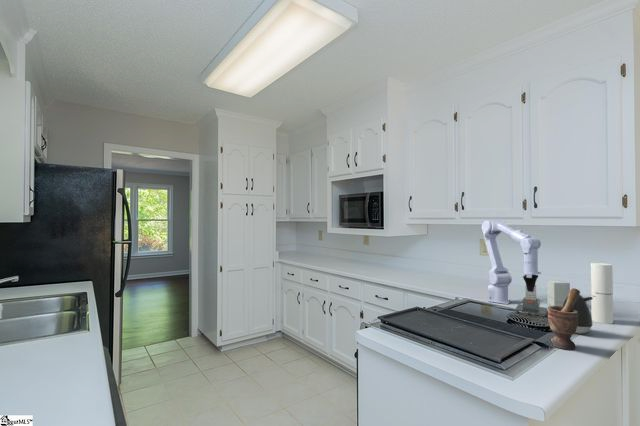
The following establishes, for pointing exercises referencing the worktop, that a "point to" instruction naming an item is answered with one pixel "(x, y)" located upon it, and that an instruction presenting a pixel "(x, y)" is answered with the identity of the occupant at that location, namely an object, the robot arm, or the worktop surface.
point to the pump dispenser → (582, 314)
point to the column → (531, 294)
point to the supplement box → (557, 292)
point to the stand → (531, 307)
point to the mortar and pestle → (564, 322)
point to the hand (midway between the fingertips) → (530, 290)
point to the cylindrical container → (602, 293)
